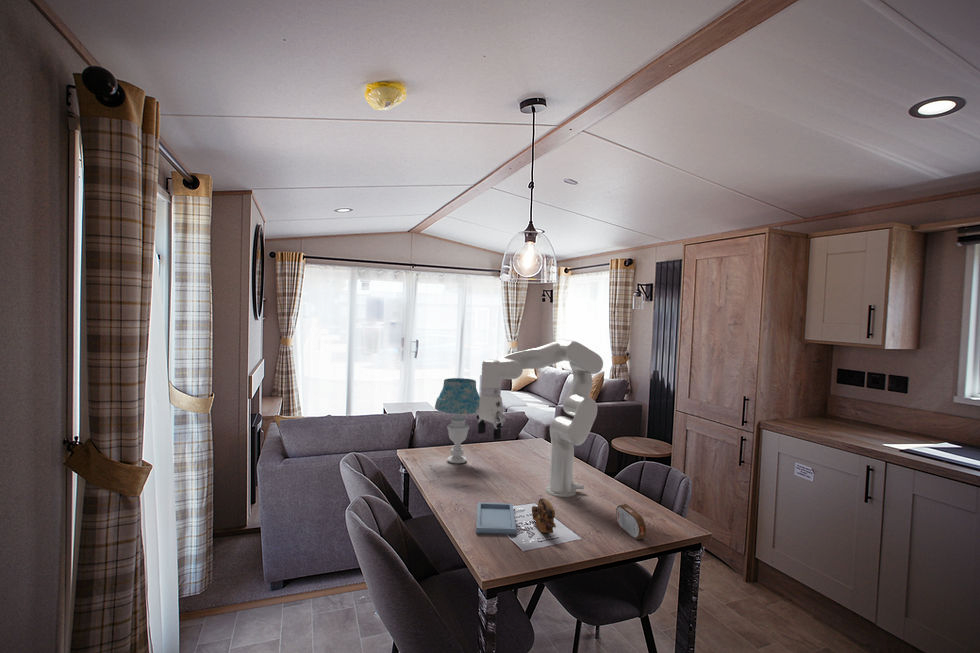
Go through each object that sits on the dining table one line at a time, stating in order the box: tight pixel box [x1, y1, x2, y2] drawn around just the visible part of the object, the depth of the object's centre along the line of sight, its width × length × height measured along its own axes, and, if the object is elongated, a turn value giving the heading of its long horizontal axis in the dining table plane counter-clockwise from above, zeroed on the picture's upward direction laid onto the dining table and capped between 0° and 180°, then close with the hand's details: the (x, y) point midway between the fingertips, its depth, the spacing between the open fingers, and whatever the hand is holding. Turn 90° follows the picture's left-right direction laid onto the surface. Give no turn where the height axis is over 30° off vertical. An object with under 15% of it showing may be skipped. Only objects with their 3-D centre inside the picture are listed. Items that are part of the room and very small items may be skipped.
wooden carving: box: [531, 498, 557, 534], centre depth 159 cm, size 16×5×10 cm, turn 20°
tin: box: [615, 503, 647, 540], centre depth 159 cm, size 15×3×8 cm, turn 16°
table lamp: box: [434, 377, 480, 464], centre depth 230 cm, size 24×24×40 cm
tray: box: [475, 501, 517, 536], centre depth 165 cm, size 13×21×2 cm, turn 0°
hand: (489, 436), depth 179 cm, fingers open, 9 cm apart
